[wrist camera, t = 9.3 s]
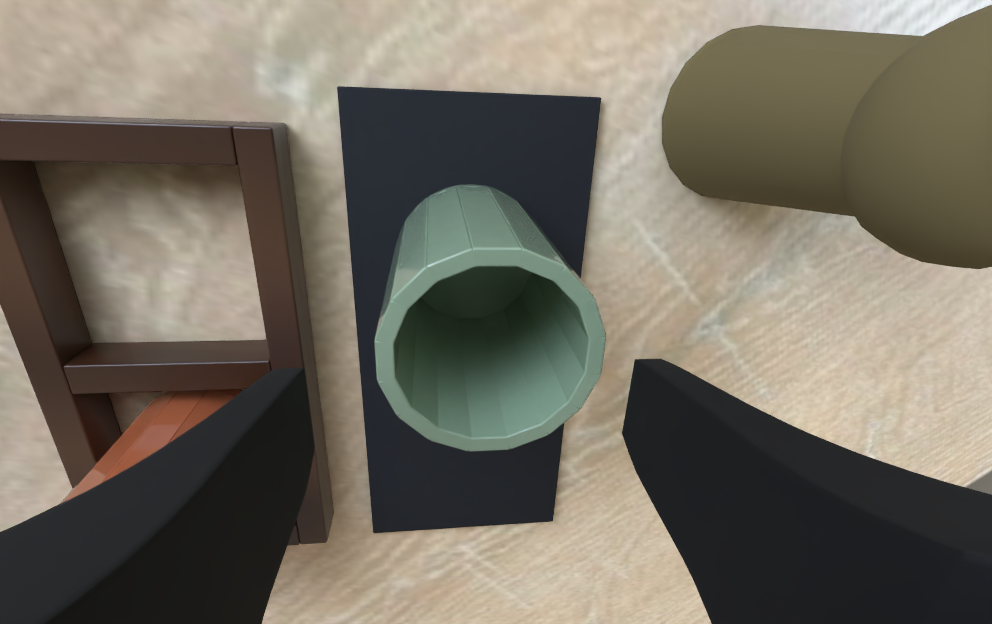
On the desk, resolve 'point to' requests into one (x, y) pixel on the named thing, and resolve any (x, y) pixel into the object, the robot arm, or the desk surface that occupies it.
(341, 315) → the desk surface
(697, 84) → the olive pepper mill
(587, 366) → the cup
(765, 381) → the desk surface
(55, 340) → the holder
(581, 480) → the desk surface
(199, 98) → the desk surface
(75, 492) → the terracotta cup
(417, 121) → the desk mat
